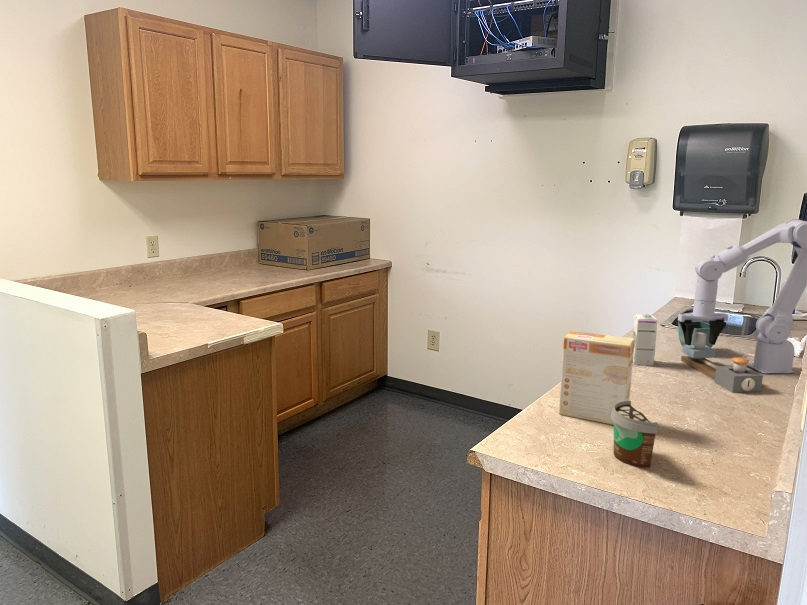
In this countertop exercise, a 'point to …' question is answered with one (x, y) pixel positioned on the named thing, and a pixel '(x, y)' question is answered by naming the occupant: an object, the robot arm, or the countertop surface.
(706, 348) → the carriage
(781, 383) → the countertop surface
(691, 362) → the rail
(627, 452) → the food container
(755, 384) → the button box
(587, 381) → the coffeecake box
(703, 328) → the flower pot
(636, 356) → the syrup box
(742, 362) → the button
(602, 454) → the countertop surface
